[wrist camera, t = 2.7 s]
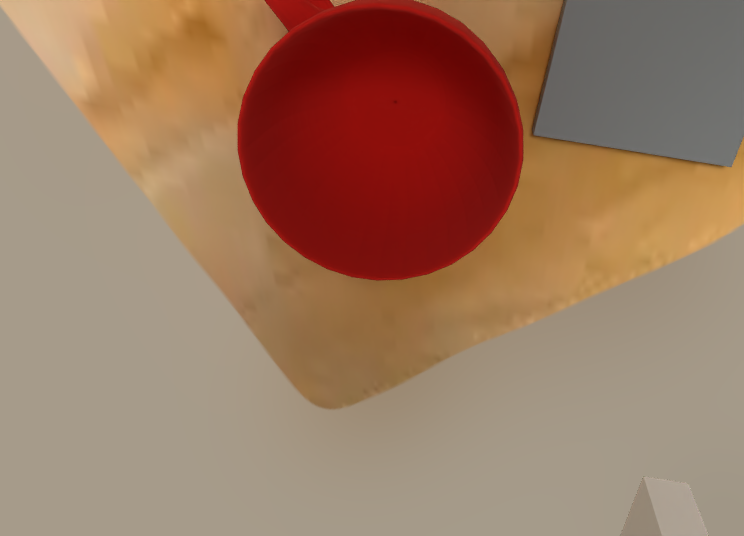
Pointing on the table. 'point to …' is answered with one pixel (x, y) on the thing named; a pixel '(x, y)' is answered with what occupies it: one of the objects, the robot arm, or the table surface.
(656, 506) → the robot arm
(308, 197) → the ceramic cup
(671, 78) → the coaster
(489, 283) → the table surface
